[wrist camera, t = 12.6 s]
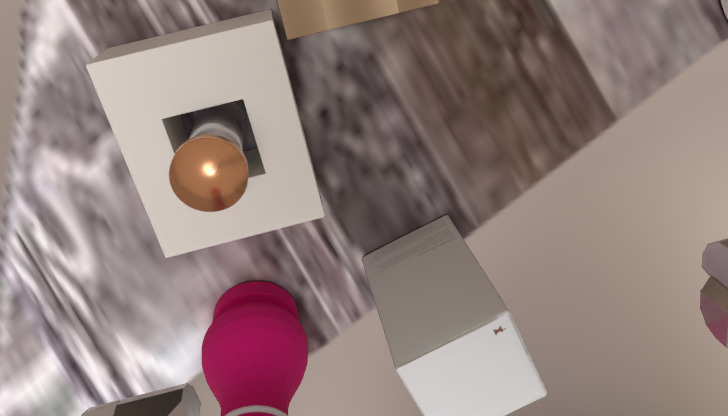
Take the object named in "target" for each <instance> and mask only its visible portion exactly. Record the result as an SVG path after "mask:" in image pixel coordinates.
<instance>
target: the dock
mask: <svg viewBox="0 0 728 416" xmlns="http://www.w3.org/2000/svg"><path fill="white" fill-rule="evenodd" d="M86 67H87V70H88V72H89V74H90V77H91V79H92V82H93V84H94V86H95V89H96V91H97V94H98V96H99V98H100V101H101V103H102V106H103V108H104V110H105V113H106V115H107V118H108V120H109V123H110V125H111V127H112V130H113V132H114V135H115V137H116V139H117V142H118V144H119V147H120V149H121V151H122V154H123V156H124V159H125V161H126V163H127V166H128V168H129V171H130V173H131V175H132V178H133V180H134V183H135V185H136V187H137V190H138V192H139V195H140V197H141V200H142V202H143V204H144V207H145V209H146V212H147V214H148V216H149V219H150V221H151V224H152V226H153V228H154V231H155V233H156V236H157V238H158V240H159V243H160V245H161V248H162V250H163V252H164V255H165V257H166V258H168V257H172V256H175V255H179V254H183V253H187V252H191V251H195V250H199V249H203V248H206V247H210V246H214V245H218V244H222V243H226V242H230V241H233V240H237V239H241V238H245V237H249V236H253V235H257V234H261V233H264V232H268V231H272V230H276V229H280V228H284V227H288V226H292V225H295V224H299V223H303V222H307V221H311V220H315V219H319V218H322V217H325V214H324V210H323V205H322V201H321V196H320V192H319V187H318V183H317V180H316V176H315V172H314V168H313V165H312V161H311V157H310V153H309V150H308V146H307V142H306V138H305V135H304V131H303V127H302V123H301V120H300V116H299V112H298V108H297V105H296V101H295V97H294V93H293V89H292V86H291V82H290V78H289V74H288V71H287V67H286V63H285V59H284V56H283V52H282V48H281V44H280V41H279V37H278V33H277V29H276V26H275V22H274V18H273V14H272V11H271V9H270V10H265V11H261V12H257V13H253V14H249V15H244V16H240V17H236V18H232V19H228V20H224V21H219V22H215V23H211V24H207V25H203V26H199V27H194V28H190V29H186V30H182V31H178V32H173V33H169V34H165V35H161V36H157V37H153V38H148V39H144V40H140V41H136V42H132V43H128V44H123V45H119V46H115V47H111V48H107V49H106V50H105V51H103V52H102V53H101V54H99V55H98V56H97V57H95V58H94V59H93V60H91V61H90V62H89V63H87V64H86ZM241 99H243V100H244V104H245V107H246V110H247V114H248V117H249V120H250V123H251V127H252V130H253V133H254V136H255V140H256V143H257V146H258V148H257V149H253V150H249V151H245V152H243V153H244V155H245V157H246V159H247V163H248V183H247V187H246V190H245V192H244V194H243V196H242V197H241V198H240V200H239V201H238V202H237V203H235V204H234V205H233V206H231V207H229V208H227V209H225V210H222V211H217V212H204V211H199V210H196V209H193V208H191V207H189V206H187V205H186V204H184V203H183V202H182V201H181V200H180V199H179V198H178V197H177V196H176V195H175V193H174V192H173V190H172V187H171V185H170V181H169V168H170V164H171V162H172V159H173V157H174V155H175V152H176V151H177V149H178V148H179V147H180V146H181V144H183V143H184V142H185V141H187V140H188V136H187V133H186V130H185V127H184V125H183V122H182V119H181V116H180V114H184V113H188V112H192V111H196V110H200V109H204V108H209V107H213V106H217V105H221V104H225V103H229V102H233V101H237V100H241Z"/></svg>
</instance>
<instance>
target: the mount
mask: <svg viewBox="0 0 728 416" xmlns="http://www.w3.org/2000/svg"><path fill="white" fill-rule="evenodd" d="M277 1H278V5H279V9H280V13H281V17H282V21H283V24H284V28H285V32H286V36H287V40H289V39H293V38H298V37H302V36H306V35H310V34H314V33H318V32H322V31H326V30H331V29H335V28H339V27H343V26H347V25H351V24H355V23H359V22H364V21H368V20H372V19H376V18H380V17H384V16H388V15H392V14H397V13H401V12H405V11H409V10H413V9H417V8H421V7H425V6H430V5H434V4H438V3H439V1H438V0H277Z"/></svg>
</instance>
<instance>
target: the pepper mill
mask: <svg viewBox="0 0 728 416" xmlns="http://www.w3.org/2000/svg"><path fill="white" fill-rule="evenodd" d="M307 360H308V341H307V336H306V333H305V331H304V329H303V327H302V325H301V324H300V323H299V318H298V309H297V306H296V303H295V301H294V299H293V298H292V297H291V295H290V294H289V293H288V292H287V291H285V290H284V289H283V288H281V287H279V286H277V285H275V284H272V283H269V282H262V281H251V282H246V283H242V284H239V285H236V286H234V287H233V288H231V289H229V290H228V291H227V292H226V293H224V294H223V295H222V297H221V298H220V299H219V301H218V302H217V304H216V307H215V310H214V314H213V322H212V324H211V326H210V327H209V329H208V330H207V332H206V334H205V337H204V340H203V344H202V368H203V371H204V374H205V378H206V381H207V383H208V385H209V387H210V389H211V391H212V392H213V394H214V396H215V397H216V399H217V400H218V402H219V404H220V407H221V416H288V407H289V403H290V401H291V399H292V397H293V395H294V394H295V392H296V390H297V389H298V387H299V385H300V383H301V381H302V379H303V376H304V372H305V369H306V366H307Z"/></svg>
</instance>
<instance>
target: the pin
mask: <svg viewBox="0 0 728 416" xmlns="http://www.w3.org/2000/svg"><path fill="white" fill-rule="evenodd" d="M244 130H245V116H244V113H243V111H242V109H241V108H240V106H239V105H238V104H237V103H235V102H234V101H233V102H229V103H225V104H221V105H217V106H213V107H209V108H204V109H200V110H199V112H198V115H197V118H196V121H195V123H194V126H193V129H192V132H191V134H190V137H189V139H188V140H187V141H185V142H184V143H183V144H181V146H180V147H179V148H178V149H177V151H176V152H175V155H174V157H173V159H172V162H171V164H170V168H169V181H170V185H171V187H172V190H173V192H174V193H175V195H176V196H177V197H178V198H179V199H180V200H181V201H182V202H183V203H184V204H186V205H187V206H189V207H191V208H193V209H196V210H199V211H204V212H217V211H222V210H225V209H227V208H229V207H231V206H233V205H234V204H235V203H237V202H238V201H239V200H240V198H241V197H242V196H243V194H244V192H245V190H246V187H247V183H248V163H247V159H246V157H245V155H244V153H243V152H242V151H243V141H244Z"/></svg>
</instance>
